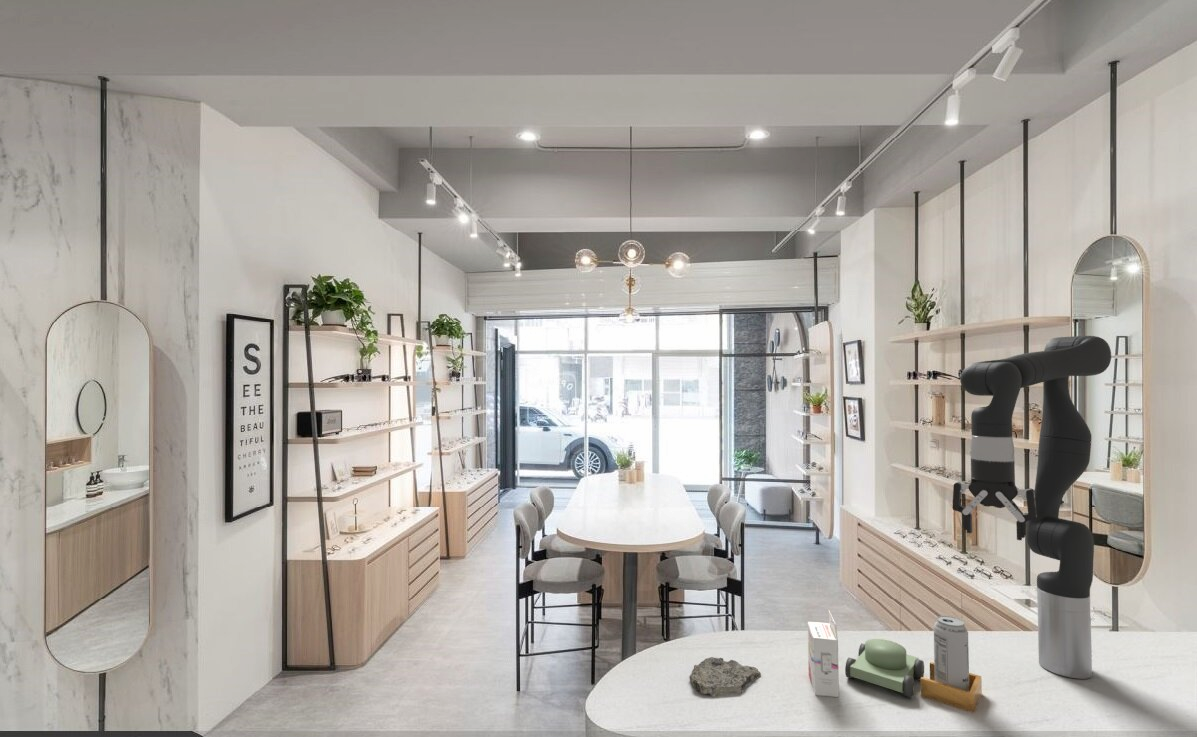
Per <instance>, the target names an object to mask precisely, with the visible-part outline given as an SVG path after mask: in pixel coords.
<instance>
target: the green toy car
mask: <svg viewBox="0 0 1197 737" xmlns="http://www.w3.org/2000/svg"><path fill="white" fill-rule="evenodd" d="M844 670H845V671H844V672H845V677H846V678H848V679H851V680H855V678H856V679H859V680H861V681H865V682H868V683H871V684H874V685H877V686H881V687H883V688H886V689H890V690H892V691H896V692H899V693H901V694H902V695H903V696H904V697H906V698H910V699H912V698H913V695H914V692H915V680H916V681H917V680H918V681H920V682H921V677H924V676H925V662H924V660H922V659H919V657H917V656H914V655H910V654H907V649H906V647H904V646H903V645H901V644H899V643H898V642H894V641H892V640H887V639H883V638H882V639H881V638H872V639H871V638H870V639H868V640H866V641H865V642H864V643H861V644H860V645H859V648H858V656H857V658H856V659H855V658H852V657H848V658H847V660H846V662H845V669H844Z"/></svg>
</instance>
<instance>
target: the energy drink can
mask: <svg viewBox="0 0 1197 737" xmlns="http://www.w3.org/2000/svg"><path fill="white" fill-rule="evenodd" d="M969 652H970V651H969V632H968V629H967V627H966V625H965V622H964V621H963V620H962V619H960V618H956V617H954V616H950V615H949V616H948V615H940V616H937V617H936V621H935V623H934V624H933V654H934V656H933V657H934V659H933V661H934V662H933V663H934V671H935V681H937V682H940V683H944V684H947V685H950V686H954V687H957V688H960V689H964V690H967V691H969V673H970V663H969V662H970V659H969V658H970V656H969Z"/></svg>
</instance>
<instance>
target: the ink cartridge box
mask: <svg viewBox="0 0 1197 737" xmlns="http://www.w3.org/2000/svg"><path fill="white" fill-rule="evenodd" d="M828 617H829V618H828V620H829V622H821V621H820V622H818V621H807V641H808V642H807V648H808V649H807V650H808V652H807V653H808V656H807V657H808V677H809V679H810V682H811V686H812V689H813V693H814V696H822V697H823V696H824V697H832V698H833V697H835V698H840V682H839V681H840V678H839V676H840V674H839V671H840V670H839V640H838V639H839V638H838V631H837V623H836V620H834V617H833V615H832V613H831V610H830V609H828Z"/></svg>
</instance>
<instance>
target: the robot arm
mask: <svg viewBox="0 0 1197 737" xmlns="http://www.w3.org/2000/svg"><path fill="white" fill-rule="evenodd" d="M1044 347H1045V348H1044V350H1042V351H1041V350H1040V351H1033V352H1032V351H1031V352H1025V353H1021V354H1017V355H1013V356H1009V357H1006V358H1001V359H992V360H985V361H977V362H973V363H971V364H969V365H967V366H966V367H965V368H964V369H963V370H962V372H961V374H960V377H959V378H960V379H959V380H960V385H961V387H962V388H963V389H964V391H965V392H967V393H968V394H970V395H973V396H978V397H979V396H982V397H983V396H985V397H988V396H989V397H990V396H991V397H992V399H991V401H990V403H989V404H988V405H986V406H982V407H981V406H980V407H977V408H974V409H973V410H972V411H971V414H970V415H971V416H970V417H971V421H970V422H971V437H970V440H971V441H970V449H969V450H970V451H969V456H970V483H963V482H961V481H956V482H955V483H954V484H953V486H952V487H953V491H952V507H951V508H952V510H953V511H955V512H958V513H960V514H962V525H963V526H962V527H963V529H964V530H965V531H966V532H967V534H972V533H973V514H972V511H973V510H974V509H975V508H976V507H978V505H979V504H980V505H982V506H983V507H987V508H988V507H994V508H997V509H1003V508H1006V510H1008V511H1009V512H1010V514H1012V515H1013V516H1014V518H1016V520H1017V521H1016V540H1017V541H1022V540H1023V539H1025V538H1026V542H1027V546H1028V548H1029V549H1030V550H1031V551H1032V552H1033V553H1034V554H1037V555H1039V556H1043V557H1046V558H1050V559H1052V560H1057V561H1059V567H1058V570H1057V571H1044V572H1040V573H1038V575H1037V576H1036V597H1037V598H1036V599H1037V600H1036V601H1037V602H1036V603H1037V631H1038V632H1037V635H1038V636H1037V637H1038V638H1037V640H1038V644H1037V646H1038V648H1037V649H1038V664H1039V666H1041V667H1042V668H1043V669H1045V670H1047V671H1049V672H1052V673H1054V674H1056V675H1059V676H1062V677H1066V678H1072V679H1081V680H1082V679H1083V680H1086V679H1090V678H1092V677H1093V660H1092V657H1093V655H1092V652H1093V650H1092V626H1091V625H1092V619H1091V617H1092V616H1091V587H1092V583H1093V578H1094V555H1095V543H1094V542H1095V541H1094V536H1093V533H1092V531H1091V529H1090V528H1089V527H1088V526H1087V525H1085V524H1084V523H1081V522H1078V521H1073V520H1068V519H1064V518H1059V517H1060V516H1059V512H1060V508H1061V504H1062V501H1063V498H1064V496H1065V494H1066V493H1067V491H1068V490H1069V489H1070V488H1071V486H1073V485H1074V484H1075V482H1076V481H1077V480H1078V479H1079V478H1080V477H1081V476H1082V475H1083V474H1084V473H1085V471H1086V470H1087V468H1088V466H1089V463H1090V462H1091V461H1090V460H1091V451H1092V450H1091V449H1092V432H1091V430H1090V427H1089V426H1088V424H1087V423H1086V421H1085V419H1084V418H1083V416H1082V415H1081V414H1080V412H1079V411H1078V410H1077V408H1076V406H1075V404H1074V402H1073V400H1072V398H1071V395H1070V387H1069V381H1070V380H1069V379H1070V377H1088V376H1089V377H1090V376H1097V375H1099V374H1102V373H1104V372H1105V371H1107V369H1108V368H1109V366H1110V364H1111V360H1112V351H1111V347H1110V345H1109V343H1108V342H1107V341H1106V340H1105V339H1104V338H1102V337H1099V336H1096V335H1095V336H1094V335H1077V336H1076V335H1075V336H1073V335H1072V336H1061V337H1060V336H1059V337H1052V338H1050V340H1048V341H1047V343H1046V344H1045V346H1044ZM1041 383H1042V384H1043V389H1042V390H1043V391H1042V392H1043V394H1042V395H1043V396H1042V397H1043V398H1042V413H1041V422H1040V432H1039V441H1038V451H1037V466H1036V467H1037V468H1036V474H1035V484H1034V489H1033V488H1031V487H1030V488H1027V489H1026V488H1025V489H1023V488H1022V489H1021V488H1018V487H1017V486H1016V478H1015V477H1016V475H1015V474H1016V473H1015V472H1016V470H1015V467H1016V466H1015V446H1014V440H1013V414H1014V411H1015V407H1016V404H1017V401H1018V398H1019V394H1020V390H1021V389H1023V388H1027V387H1030V386H1034V385H1037V384H1041ZM966 490H968V491H969V492H970V494H972V496H973V497H974V498H973V499H972V500H971V501H970V502H969V503H968V505H967V506H964V505H962V494H965V493H966ZM1018 495H1019V496H1021V498H1022V500H1023V501H1026V506H1027V507H1026V508H1027V513H1024V512H1023V511H1022V510H1021V509H1020V508H1019V505H1017V504H1016V503H1015V502H1014V499H1015V498H1016V497H1017V496H1018Z"/></svg>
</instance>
